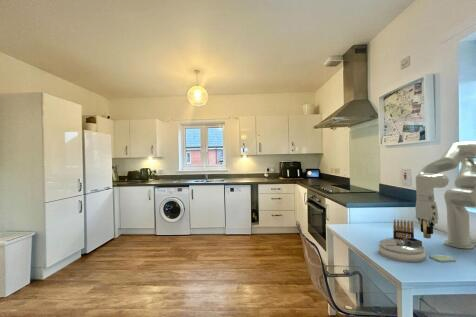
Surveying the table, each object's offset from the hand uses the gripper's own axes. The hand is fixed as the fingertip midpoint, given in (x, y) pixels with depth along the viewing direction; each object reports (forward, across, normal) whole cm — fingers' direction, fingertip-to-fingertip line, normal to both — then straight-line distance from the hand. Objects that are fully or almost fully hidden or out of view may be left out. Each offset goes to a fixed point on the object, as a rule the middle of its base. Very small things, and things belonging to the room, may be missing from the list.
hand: (426, 232), depth 138 cm
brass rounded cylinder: (+3, 0, 0) cm, 3 cm away
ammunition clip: (+10, +20, -2) cm, 22 cm away
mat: (+9, -12, +3) cm, 16 cm away
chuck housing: (+9, -4, +18) cm, 21 cm away
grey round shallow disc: (+5, -4, +18) cm, 19 cm away
